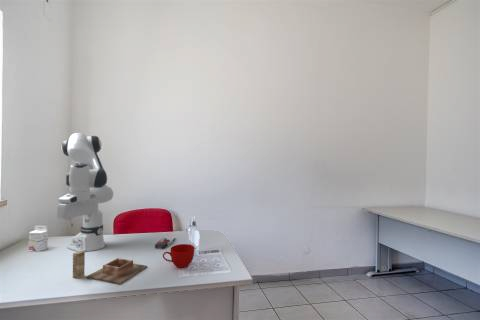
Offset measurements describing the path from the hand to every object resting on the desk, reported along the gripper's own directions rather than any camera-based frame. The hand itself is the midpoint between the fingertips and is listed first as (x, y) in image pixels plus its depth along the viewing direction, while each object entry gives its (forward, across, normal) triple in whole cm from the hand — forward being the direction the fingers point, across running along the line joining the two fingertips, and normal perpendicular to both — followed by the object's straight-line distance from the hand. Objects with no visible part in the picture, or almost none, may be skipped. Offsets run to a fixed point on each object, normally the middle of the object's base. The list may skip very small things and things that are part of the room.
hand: (79, 224), depth 129 cm
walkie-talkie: (+26, -56, +13) cm, 63 cm away
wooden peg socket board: (+26, -10, +15) cm, 32 cm away
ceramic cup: (+26, -27, +40) cm, 55 cm away
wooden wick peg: (+26, 0, 0) cm, 26 cm away
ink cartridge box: (+26, -19, -54) cm, 63 cm away
